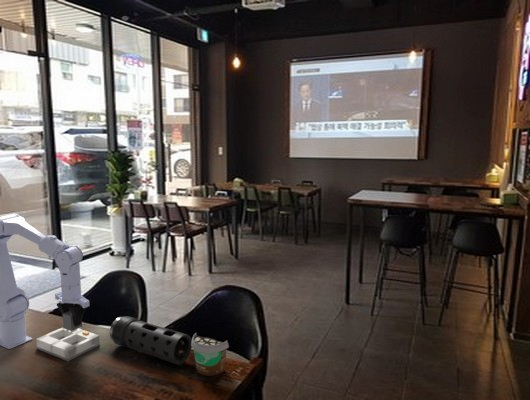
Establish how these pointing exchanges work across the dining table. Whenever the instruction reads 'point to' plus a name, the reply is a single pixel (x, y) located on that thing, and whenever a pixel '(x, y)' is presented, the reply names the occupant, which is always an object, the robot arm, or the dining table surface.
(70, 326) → the plug
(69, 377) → the dining table surface
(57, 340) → the double socket
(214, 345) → the food container
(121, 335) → the muzzle brake
